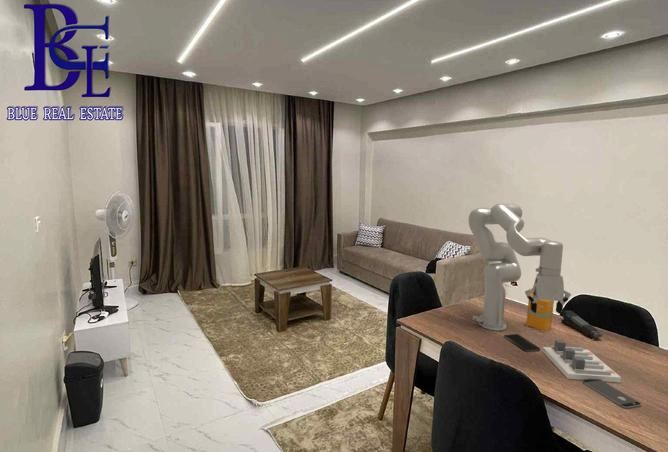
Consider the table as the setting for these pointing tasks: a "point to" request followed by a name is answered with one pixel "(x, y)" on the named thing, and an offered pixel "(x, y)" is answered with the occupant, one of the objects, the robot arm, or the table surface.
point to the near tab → (578, 363)
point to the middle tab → (568, 353)
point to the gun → (580, 324)
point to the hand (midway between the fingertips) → (546, 312)
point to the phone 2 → (611, 393)
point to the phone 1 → (522, 343)
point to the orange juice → (540, 314)
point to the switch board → (591, 370)
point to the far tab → (559, 345)
